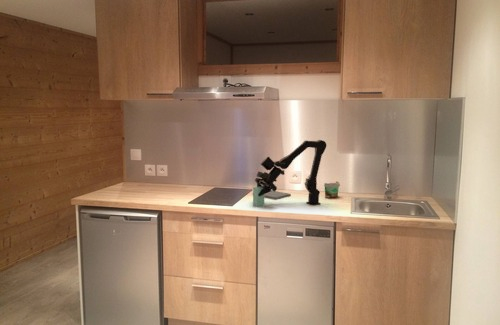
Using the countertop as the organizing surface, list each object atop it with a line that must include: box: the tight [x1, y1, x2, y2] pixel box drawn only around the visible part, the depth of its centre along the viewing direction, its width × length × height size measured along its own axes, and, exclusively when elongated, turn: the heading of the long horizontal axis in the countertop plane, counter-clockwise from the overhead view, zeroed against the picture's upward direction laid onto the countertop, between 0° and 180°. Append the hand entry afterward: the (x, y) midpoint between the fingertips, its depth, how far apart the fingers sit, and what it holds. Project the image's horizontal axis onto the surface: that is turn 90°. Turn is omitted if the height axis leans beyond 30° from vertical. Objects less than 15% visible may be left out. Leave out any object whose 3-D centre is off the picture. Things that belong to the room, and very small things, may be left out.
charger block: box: [252, 186, 265, 208], centre depth 228 cm, size 5×5×11 cm
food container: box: [323, 181, 341, 199], centre depth 250 cm, size 12×6×10 cm, turn 126°
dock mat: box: [264, 190, 292, 201], centre depth 256 cm, size 20×16×2 cm
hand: (256, 194), depth 227 cm, fingers closed on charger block, 5 cm apart
